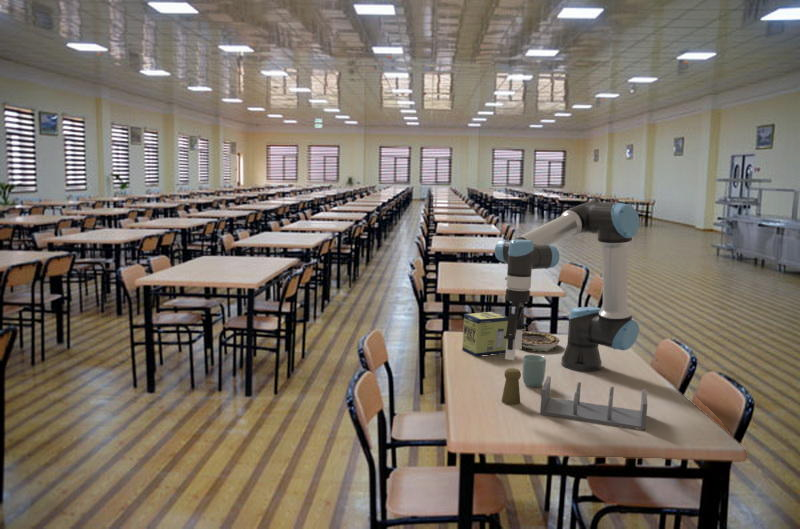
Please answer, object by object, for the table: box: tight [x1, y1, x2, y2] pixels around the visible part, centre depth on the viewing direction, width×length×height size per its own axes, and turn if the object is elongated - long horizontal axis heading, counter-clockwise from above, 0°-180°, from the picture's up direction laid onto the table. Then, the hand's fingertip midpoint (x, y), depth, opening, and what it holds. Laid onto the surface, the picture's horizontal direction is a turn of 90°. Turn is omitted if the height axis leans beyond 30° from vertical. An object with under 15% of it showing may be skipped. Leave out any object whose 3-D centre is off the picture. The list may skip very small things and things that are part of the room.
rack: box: [539, 375, 648, 430], centre depth 201 cm, size 30×14×8 cm, turn 71°
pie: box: [521, 330, 561, 352], centre depth 279 cm, size 28×27×5 cm
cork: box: [501, 367, 522, 406], centre depth 209 cm, size 6×6×11 cm
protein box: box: [461, 311, 509, 357], centre depth 266 cm, size 10×16×16 cm
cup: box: [521, 354, 547, 388], centre depth 226 cm, size 8×8×10 cm
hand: (513, 354), depth 207 cm, fingers open, 13 cm apart
